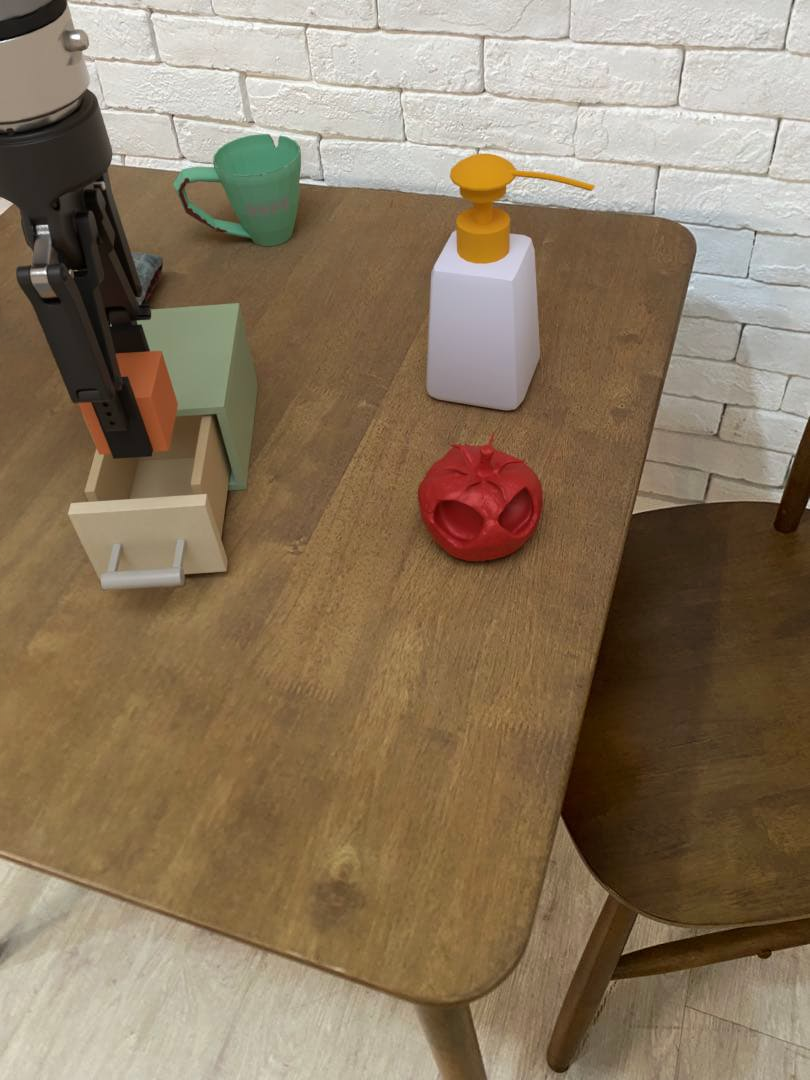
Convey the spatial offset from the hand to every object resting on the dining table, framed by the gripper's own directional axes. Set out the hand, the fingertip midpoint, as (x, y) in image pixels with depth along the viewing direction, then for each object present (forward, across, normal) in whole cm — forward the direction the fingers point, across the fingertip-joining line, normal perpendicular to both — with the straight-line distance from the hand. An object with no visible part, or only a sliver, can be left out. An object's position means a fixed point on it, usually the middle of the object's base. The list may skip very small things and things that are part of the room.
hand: (139, 426), depth 68 cm
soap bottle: (+14, +20, -29) cm, 38 cm away
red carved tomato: (+14, 0, -25) cm, 29 cm away
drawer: (+13, +2, +1) cm, 13 cm away
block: (0, 0, 0) cm, 0 cm away
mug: (+15, +49, -2) cm, 52 cm away
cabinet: (+14, +14, +1) cm, 20 cm away
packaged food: (+15, +37, +12) cm, 42 cm away
